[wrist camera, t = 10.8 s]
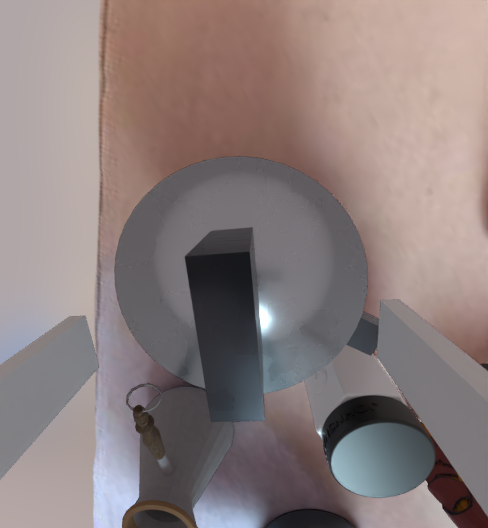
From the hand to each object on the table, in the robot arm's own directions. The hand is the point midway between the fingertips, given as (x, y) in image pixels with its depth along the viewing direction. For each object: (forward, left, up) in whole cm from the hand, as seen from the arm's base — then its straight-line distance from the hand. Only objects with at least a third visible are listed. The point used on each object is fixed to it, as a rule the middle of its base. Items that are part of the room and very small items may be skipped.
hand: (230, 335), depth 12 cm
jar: (-8, -16, -18) cm, 25 cm away
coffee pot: (-18, -1, -18) cm, 26 cm away
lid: (0, 0, -7) cm, 7 cm away
